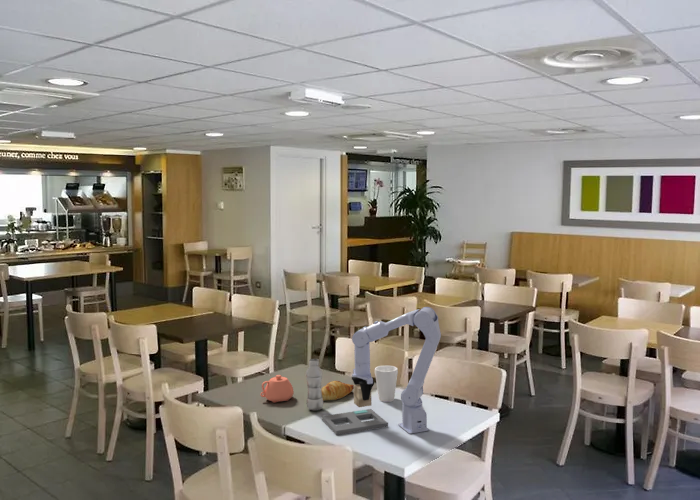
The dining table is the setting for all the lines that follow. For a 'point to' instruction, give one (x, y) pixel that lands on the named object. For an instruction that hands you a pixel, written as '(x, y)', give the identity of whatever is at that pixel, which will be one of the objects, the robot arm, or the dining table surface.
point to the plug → (360, 397)
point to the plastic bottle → (314, 385)
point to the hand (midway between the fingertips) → (363, 397)
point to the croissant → (336, 390)
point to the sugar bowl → (277, 389)
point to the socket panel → (354, 421)
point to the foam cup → (386, 382)
